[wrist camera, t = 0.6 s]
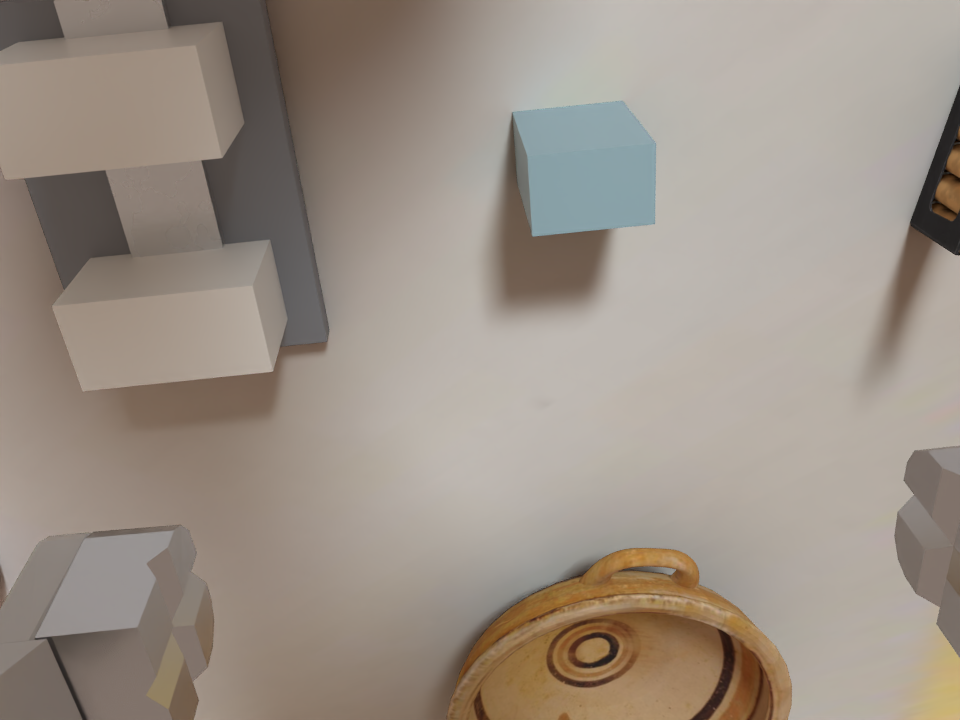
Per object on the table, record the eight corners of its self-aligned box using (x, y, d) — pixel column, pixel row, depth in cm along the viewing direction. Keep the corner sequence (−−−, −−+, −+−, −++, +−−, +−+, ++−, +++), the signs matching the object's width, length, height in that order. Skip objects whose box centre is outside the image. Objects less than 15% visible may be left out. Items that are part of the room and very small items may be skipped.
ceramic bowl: (459, 478, 60) (464, 560, 54) (802, 491, 63) (849, 572, 56) (430, 760, 75) (431, 852, 68) (709, 762, 77) (738, 852, 70)
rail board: (-23, 3, 44) (-100, 30, 38) (260, -25, 44) (232, -3, 38) (99, 353, 54) (55, 423, 48) (329, 330, 54) (316, 395, 48)
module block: (512, 111, 48) (527, 156, 41) (622, 100, 48) (656, 143, 41) (517, 182, 50) (532, 236, 43) (622, 172, 50) (654, 223, 43)
